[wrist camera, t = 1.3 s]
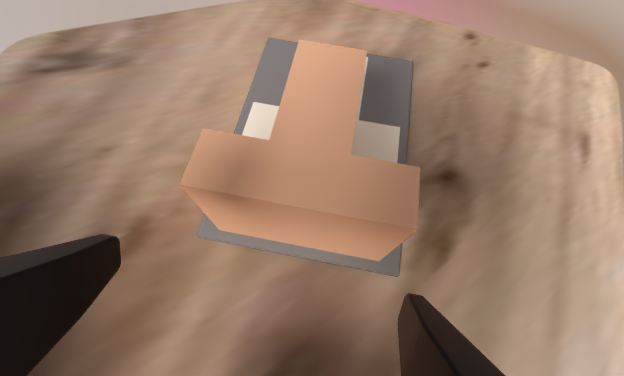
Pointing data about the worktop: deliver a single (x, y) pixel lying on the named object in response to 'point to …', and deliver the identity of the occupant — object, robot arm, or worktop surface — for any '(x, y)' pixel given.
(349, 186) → the t block
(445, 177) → the worktop surface
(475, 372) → the robot arm
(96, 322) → the worktop surface
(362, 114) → the mat
